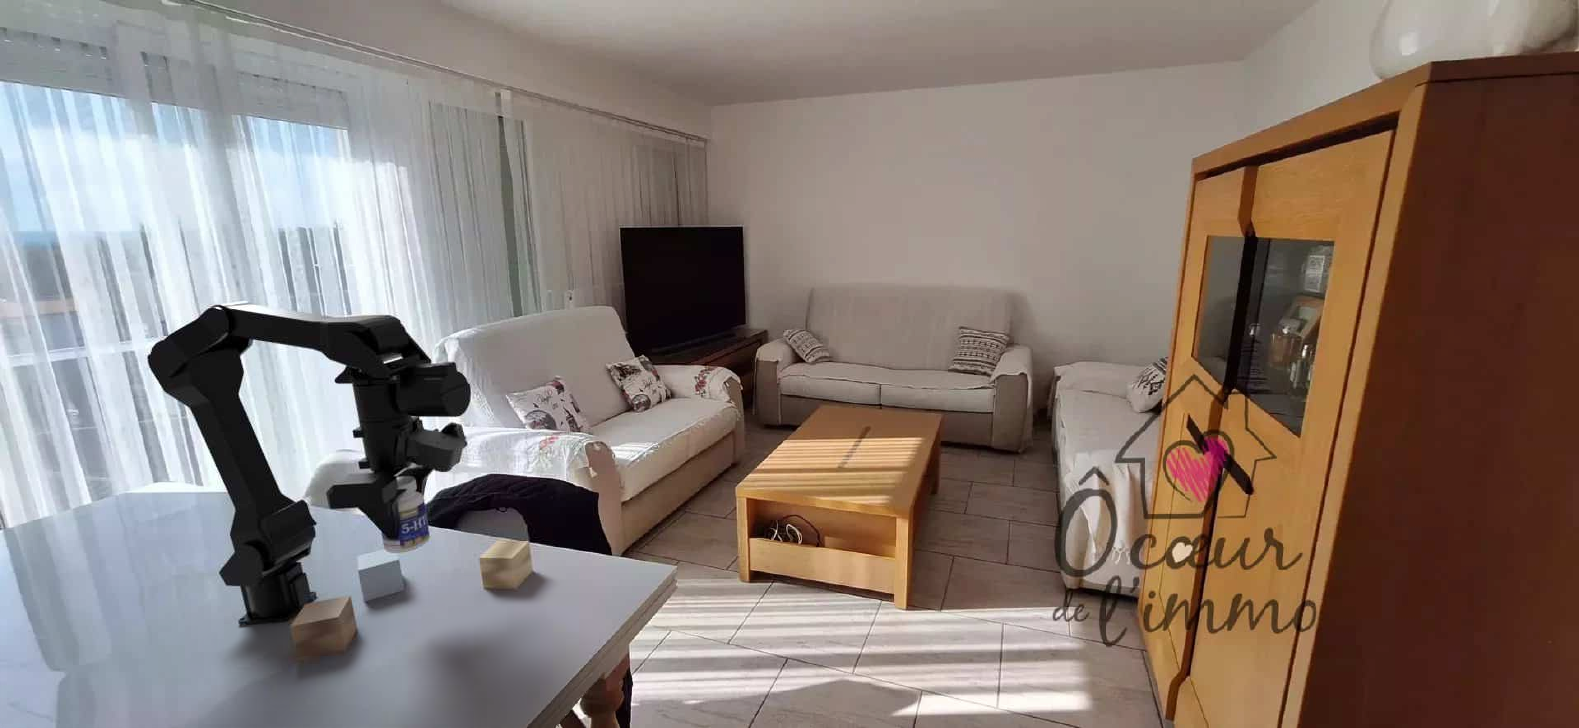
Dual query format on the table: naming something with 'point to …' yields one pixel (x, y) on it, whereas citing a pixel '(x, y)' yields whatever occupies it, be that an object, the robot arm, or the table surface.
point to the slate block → (379, 574)
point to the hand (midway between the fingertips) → (405, 528)
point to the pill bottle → (409, 519)
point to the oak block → (506, 564)
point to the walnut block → (324, 628)
